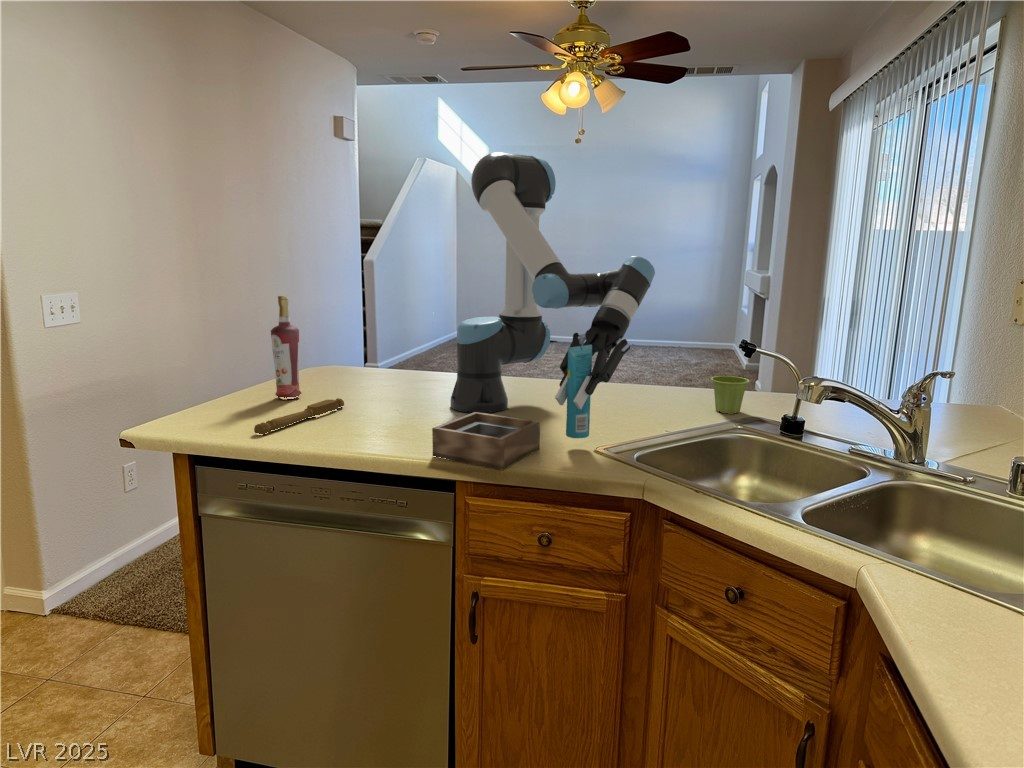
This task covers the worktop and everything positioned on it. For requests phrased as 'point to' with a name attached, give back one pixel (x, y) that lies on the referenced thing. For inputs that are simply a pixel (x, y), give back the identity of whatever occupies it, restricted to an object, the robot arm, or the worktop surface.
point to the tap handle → (299, 415)
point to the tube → (576, 375)
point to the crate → (486, 440)
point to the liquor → (286, 353)
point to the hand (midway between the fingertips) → (568, 403)
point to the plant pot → (729, 393)
